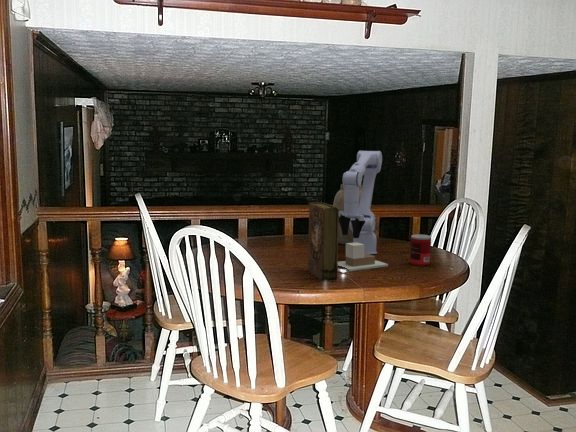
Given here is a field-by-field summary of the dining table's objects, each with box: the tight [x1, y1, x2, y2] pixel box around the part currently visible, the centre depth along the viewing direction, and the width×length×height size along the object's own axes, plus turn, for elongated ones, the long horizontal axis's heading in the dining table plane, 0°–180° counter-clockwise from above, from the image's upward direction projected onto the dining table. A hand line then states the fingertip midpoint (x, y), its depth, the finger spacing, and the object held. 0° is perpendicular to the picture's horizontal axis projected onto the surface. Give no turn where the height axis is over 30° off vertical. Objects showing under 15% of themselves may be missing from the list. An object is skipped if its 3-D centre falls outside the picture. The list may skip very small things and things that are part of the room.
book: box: [307, 201, 339, 281], centre depth 194 cm, size 16×6×25 cm, turn 17°
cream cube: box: [345, 242, 364, 259], centre depth 208 cm, size 5×5×5 cm
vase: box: [332, 183, 363, 245], centre depth 256 cm, size 17×17×27 cm
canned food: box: [409, 234, 432, 267], centre depth 215 cm, size 8×8×11 cm
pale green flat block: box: [338, 254, 389, 272], centre depth 211 cm, size 18×12×4 cm, turn 119°
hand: (350, 236), depth 217 cm, fingers open, 7 cm apart
